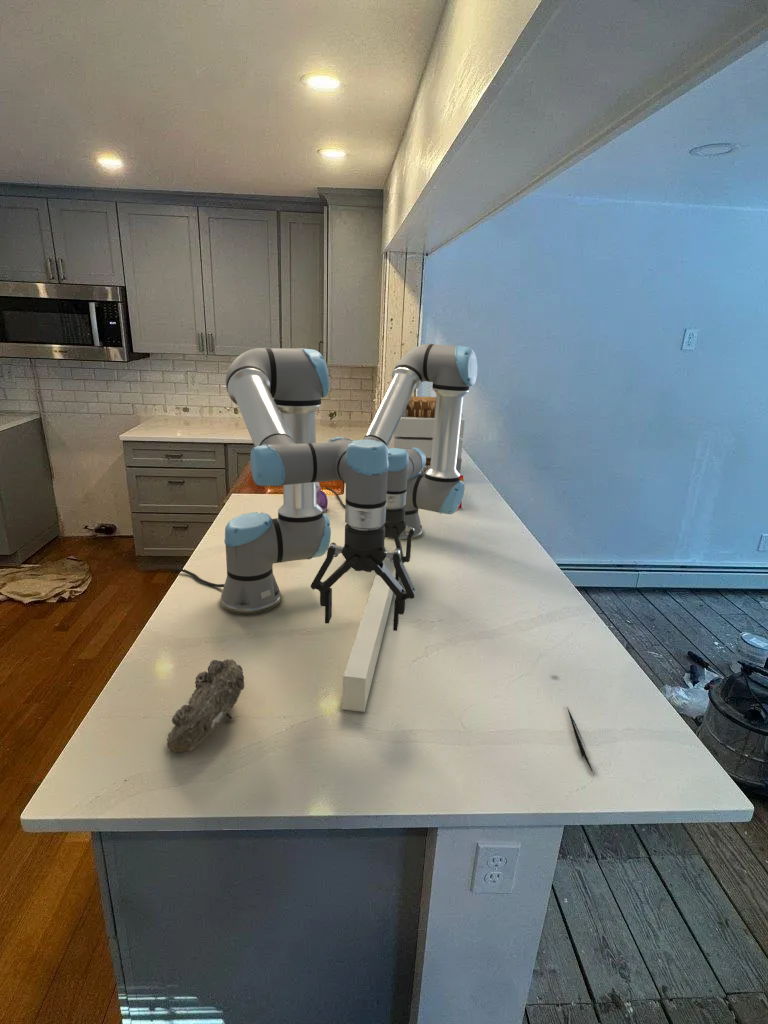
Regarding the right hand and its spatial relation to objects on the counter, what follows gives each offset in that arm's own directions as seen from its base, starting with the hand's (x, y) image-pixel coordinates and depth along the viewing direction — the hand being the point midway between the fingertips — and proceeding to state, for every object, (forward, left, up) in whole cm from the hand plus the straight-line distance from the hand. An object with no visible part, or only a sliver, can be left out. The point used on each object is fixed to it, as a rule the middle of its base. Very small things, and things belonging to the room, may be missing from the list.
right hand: (387, 581), depth 163 cm
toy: (-45, +72, -1) cm, 85 cm away
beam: (+16, -18, -1) cm, 24 cm away
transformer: (-79, +89, -1) cm, 119 cm away
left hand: (+33, -36, +15) cm, 51 cm away
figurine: (-62, +18, -1) cm, 65 cm away
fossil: (+22, -64, -1) cm, 68 cm away
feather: (+66, -9, -1) cm, 66 cm away
